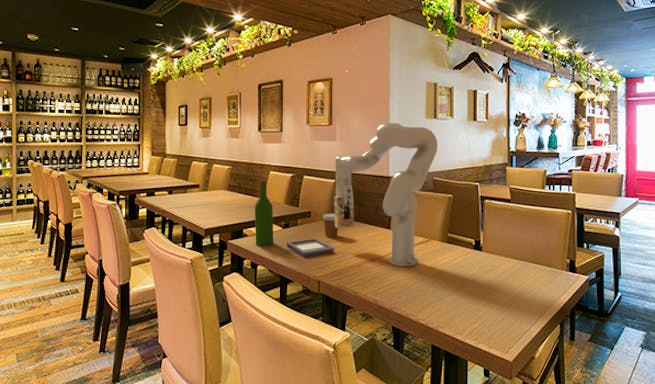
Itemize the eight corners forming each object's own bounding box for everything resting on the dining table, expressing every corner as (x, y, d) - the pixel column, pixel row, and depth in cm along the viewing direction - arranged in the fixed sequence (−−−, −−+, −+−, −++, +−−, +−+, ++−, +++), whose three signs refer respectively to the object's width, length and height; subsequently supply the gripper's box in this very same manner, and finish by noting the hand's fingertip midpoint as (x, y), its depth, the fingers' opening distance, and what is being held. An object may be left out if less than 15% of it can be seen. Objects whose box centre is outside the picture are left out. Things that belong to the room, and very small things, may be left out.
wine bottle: (275, 241, 214) (273, 180, 209) (271, 246, 205) (269, 183, 200) (258, 241, 215) (256, 180, 210) (253, 246, 206) (252, 182, 201)
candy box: (337, 228, 197) (336, 197, 195) (334, 226, 201) (333, 196, 199) (354, 226, 199) (353, 196, 197) (351, 225, 203) (350, 195, 201)
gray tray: (333, 252, 194) (333, 247, 194) (303, 257, 187) (303, 252, 186) (315, 242, 212) (315, 238, 211) (287, 246, 204) (287, 242, 204)
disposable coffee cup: (339, 238, 220) (340, 216, 219) (322, 238, 221) (322, 216, 219) (339, 234, 230) (339, 213, 228) (323, 233, 230) (323, 213, 228)
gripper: (359, 182, 191) (359, 220, 194) (341, 179, 206) (342, 214, 209) (345, 183, 188) (346, 222, 190) (328, 180, 203) (329, 216, 205)
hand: (344, 217), depth 199 cm, fingers closed on candy box, 4 cm apart
